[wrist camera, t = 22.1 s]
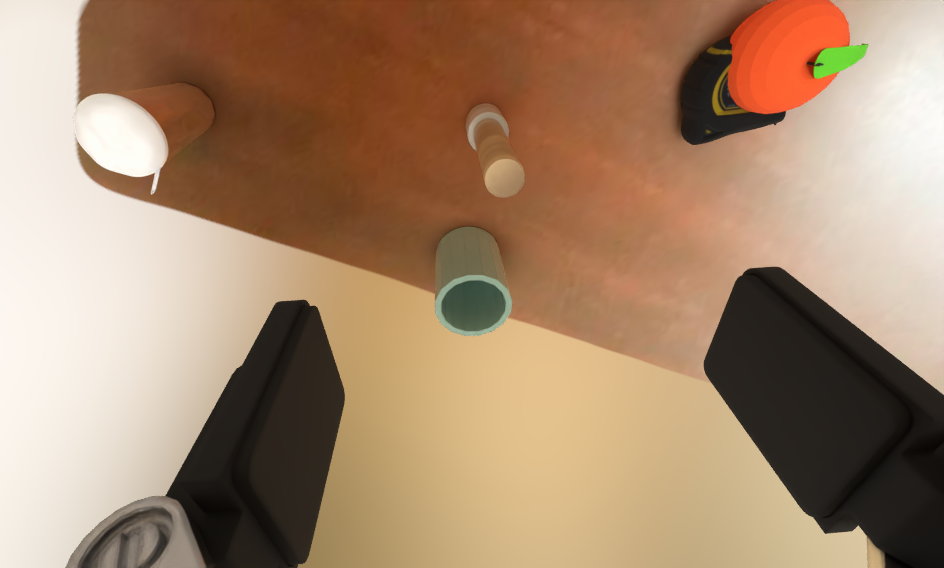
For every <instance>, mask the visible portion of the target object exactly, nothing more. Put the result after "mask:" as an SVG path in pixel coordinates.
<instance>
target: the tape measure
mask: <svg viewBox="0 0 944 568" xmlns="http://www.w3.org/2000/svg"><path fill="white" fill-rule="evenodd" d="M731 36H732V35H731ZM731 36H728V37H726V38H724V39H722V40H720V41H719V42H717V43H715V44H714V45H713V46H711V47H710V48H709V49H708V50H705V51H704V52H702V53H701V54H700V56H699V58H698V60H696V61H695V62H694V63H693V64H692V66H691V67H690V69H689V71H688V73H687V75H686V77H685V82H684V83H683V85H682V89H681V98H680V99H681V101H682V102H681V107H682V111H683V120H682V125H681V133H682V136H683V138H684V139H685V140H686V141H687V142H688V143H690V144H692V145H698V144H703V143H707V142H711V141H714V140H717V139H719V138H722V137H724V136H727V135H730V134H734V133H738V132H743V131H748V130H752V129H756V128H760V127H764V126H767V125H770V124H774V125H776V123H778V122H781V121H782V120H783V119H784V117H785V114H786V111H783V112H779V113H771V114H762V113H755V112H750V111H746V110H744V109H742V108H741V107H739V106H738V105H736V103H735V102H734V100H733V99H732V97H731V96H730V92H729V87H728V70H729V68H730V65H731V62H732V44H731V43H730V39H731Z"/></svg>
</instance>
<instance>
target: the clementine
mask: <svg viewBox="0 0 944 568" xmlns="http://www.w3.org/2000/svg"><path fill="white" fill-rule="evenodd" d="M730 43H731V44H732V62H731V65H730V68H729V70H728V87H729V92H730V96H731V97H732V99H733V100H734V102H735V103H736V105H738V106H739V107H741V108H742V109H744V110H746V111H750V112H755V113H762V114H771V113H779V112H783V111H787V110H790V109H793V108H796V107H799V106H801V105H802V104H804V103H806V102H808V101H809V100H811V99H812V98H814V97H815V96H816V95H818V94H819V93H820V92H821V91H822V90H824V89H825V88H826V87H827V86H828V85H829V84H830V83H831V82H832V80H833V79H834V78H835V77H836V76H837V74H838V72H839V71H842V70H844V69H846V68H848V67H850V66H851V65H853V64H855V63H856V62H857V61H859V60H860V59H861V58H862V57H863V56H864V55H865V53H866V50H867V47H868V44H862V45H859V46H849V43H850V33H849V24H848V22H847V20H846V18H845V16H844V14H843V13H842V12H841V11H840V9H839V8H838V7H836V6H835V5H834V4H833V3H832V2H830V1H829V0H776V1H774V2H771V3H769V4H767V5H765V6H764V7H762V8H761V9H759V10H758V11H756V12H755V13H753V14H752V15H750V16H749V17H748V18H747V19H746V20H745V21H744V22H743V23H742V24H741V25H740V26H739V27H738V28H737V29H736V30H735V32H734V33H733V35H732V36H731V39H730Z"/></svg>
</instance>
